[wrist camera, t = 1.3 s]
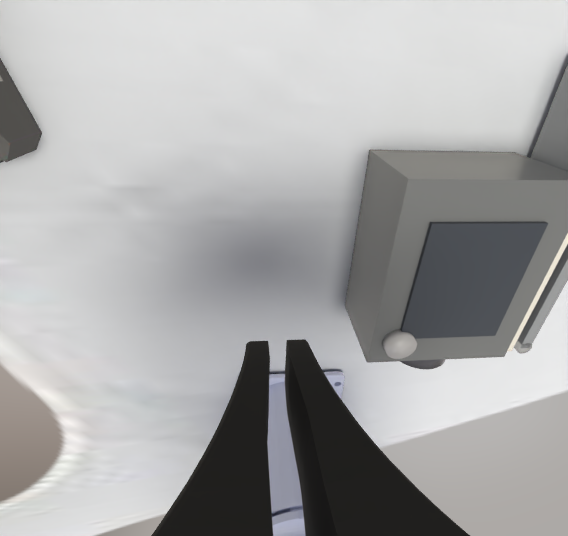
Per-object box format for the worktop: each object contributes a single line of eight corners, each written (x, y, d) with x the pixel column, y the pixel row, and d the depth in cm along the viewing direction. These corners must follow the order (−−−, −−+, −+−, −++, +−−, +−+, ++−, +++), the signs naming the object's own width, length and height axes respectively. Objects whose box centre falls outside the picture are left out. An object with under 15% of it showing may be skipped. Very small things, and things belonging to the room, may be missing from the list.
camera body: (459, 316, 24) (510, 378, 19) (342, 319, 23) (366, 384, 19) (522, 152, 18) (617, 184, 14) (369, 150, 17) (413, 182, 13)
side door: (487, 303, 23) (535, 352, 19) (470, 303, 23) (515, 353, 19) (593, 54, 16) (707, 52, 12) (570, 53, 16) (676, 51, 12)
